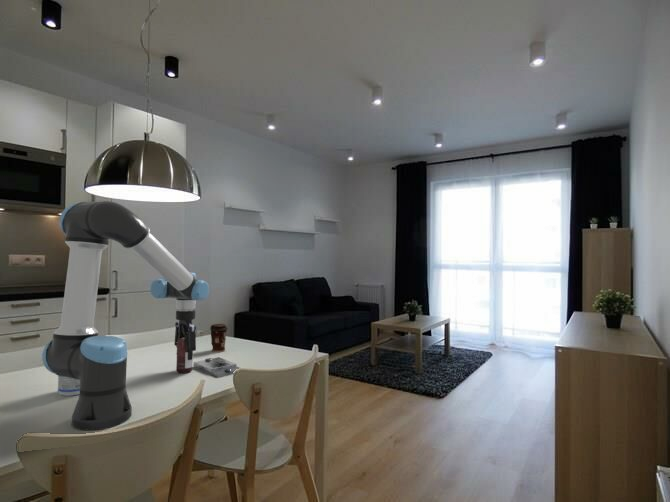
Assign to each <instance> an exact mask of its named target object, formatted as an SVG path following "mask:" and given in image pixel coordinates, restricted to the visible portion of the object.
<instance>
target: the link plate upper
mask: <svg viewBox="0 0 670 502" xmlns="http://www.w3.org/2000/svg"><path fill="white" fill-rule="evenodd" d="M220 363H222V364H225V365H227V366H217V367H211V365H216V364H220ZM236 366H237V363H234V362H233V361H230V360H227V359H224V358H222V357H220V356H219V357H213V358H211V357H210V358H209V357H208V358H205V359H203V360H198V361H194V362H193V368H195V369H198V370H200V368H203V369H205V370H207V371H210V372H213V371H217V370H222V369H226V368H231V367H236Z"/></svg>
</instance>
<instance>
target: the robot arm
mask: <svg viewBox="0 0 670 502" xmlns="http://www.w3.org/2000/svg"><path fill="white" fill-rule="evenodd" d="M58 221H59V223H58V224H59V228H60V229H61V231H62V233H63V234H64V235H65V240H64V243H65V244H66V245H67V246H68V247H69V254H68V262H67V263H68V264H67V271H66V277H65V278H66V279H65V285H64V286H65V287H64V294H63V295H64V296H63V301H62V302H63V303H62V304H63V305H62V309H61V319H60V320H61V321H60V326H59V327H58V328H56V330H54V331H53V335H52V339H51V340H49V342H48V343H47V344H45V347H44V348H43V350H42V355H41V356H42V358H41V359H42V364H43V365H44V368H45V369H46V370H47V371H49V372H50V373H52V374H55V375H56V376H62V377H69V378H73V379H78V380H80V394H79V395H78V396H79V397H78V398H77V402H76V404H75V407H74V410H73V412H72V414H71V427H72V428H74V429H76V430H81V431H96V430H103V429H108V428H112V427H115V426H118V425H120V424H123V423H125V422H126V421H127V420H129V419H130V418H131V417H132V415H133V413H132V412H133V409H132V408H133V407H132V403H131V401H130V398H129V395H128V393H127V392H128V391H127V388H126V387H127V385H126V383H127V362H128V348H127V342H126V341H125V340H124V339H123V338H121V337H117V336H114V335H113V336H112V335H99V331H98V330H97V329H96V327H95V326H94V325H95V316H96V315H95V314H96V307H97V306H96V305H97V298H98V289H99V281H100V272H101V265H102V263H101V262H102V255H103V251H104V250H105V249H106V248H107V249H108V247H109V242H110V240H111V241H114V242H117V243H119V244H120V245H121V246H122V247H123V248H125V249H131V250H132V251H133V252H134V253H135V254H136V255H137V256H138V257H140V258H141V259H142V260H143V261H144V262H145V263H147V264H148V265H149V266H150V268H152V269H153V270H154V271H156V273H158V274H159V275H160V276H161V277H162V278H157V279H154V280H153V281H152V282H151V284H150V294H151V296H152V297H153V298H155V299H161V300H162V299H175V309H176V311H175V319H176V320H177V321H178V322H177V321H176V322H175V325H174V326H175V332H174V333H175V334H174V346H175V347H176V348H177V340H178V338H179V337H180V338H184V337H185V342H186V349H187V351H185V368H190V367H192V368H193V359H194V358H193V354H194V351H197V338H196V337H197V335H196V332H197V331H196V330H197V326H196V325H193V320H195V319H196V310H195V309H196V304H197V301H203V300H205V299H206V298H207V297H208V296H209V293H210V286H209V283H208V282H207V281H206V280H202V279H197V274H196V273H195V272H191V271H189V270H188V269H187V268H186V267H185V266H184V265H183V264H182V263H181V262H180V261H179V260H178V259H177V258H176V257H175V256H173V254H172V253H170V251H169V249H167V248H166V247H165V246H164V245H163V244H162V243H161V242H160V241H159V240H158V239H157V238H156V237H155V236H154V235H153V234H152V233H151V232H150V231H151V229H150V227H149V226H148V225H147V224H146V222H144V221H143V220H142V218H140V217H139V216H138V215H137V214H135V213H134V212H133V211H131V210H130V209H129V208H127V207H125V206H124V205H122V204H121V203H118V202H116V201H111V200H110V201H109V200H103V201H102V200H101V201H80V202H76V203H72V204H70V205H68V206H67V207H65V208H64V210H63V211H62V212H61V214H60V217H59V220H58Z"/></svg>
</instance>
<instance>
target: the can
mask: <svg viewBox="0 0 670 502" xmlns="http://www.w3.org/2000/svg"><path fill="white" fill-rule="evenodd" d="M185 351H187V349H186V342H185V337H184V338H180V337H179V338H178V340H177V347H176V370H175V371H176V373H177V374H181V375H182V374H189V373H191V372H192V371H193V366H192V367H190V368H185Z"/></svg>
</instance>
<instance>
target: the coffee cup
mask: <svg viewBox="0 0 670 502" xmlns="http://www.w3.org/2000/svg"><path fill="white" fill-rule="evenodd" d="M209 329H210V341H211V346H212V349H211V351H212V352H213V353H222V352H225V351H226V339H227V337H226V336H227V331H228V327H227V324H225V323H214V324H211V325H210V328H209Z"/></svg>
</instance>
